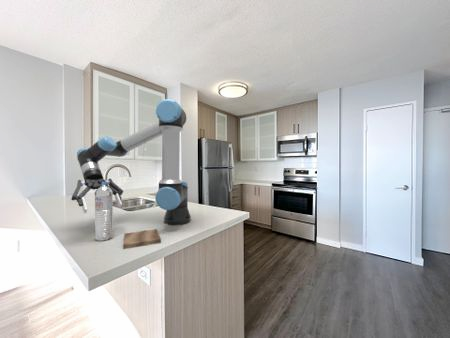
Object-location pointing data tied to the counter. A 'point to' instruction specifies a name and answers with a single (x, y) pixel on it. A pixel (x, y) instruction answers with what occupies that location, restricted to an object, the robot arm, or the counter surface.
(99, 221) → the water bottle
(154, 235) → the walnut board
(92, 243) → the counter surface
